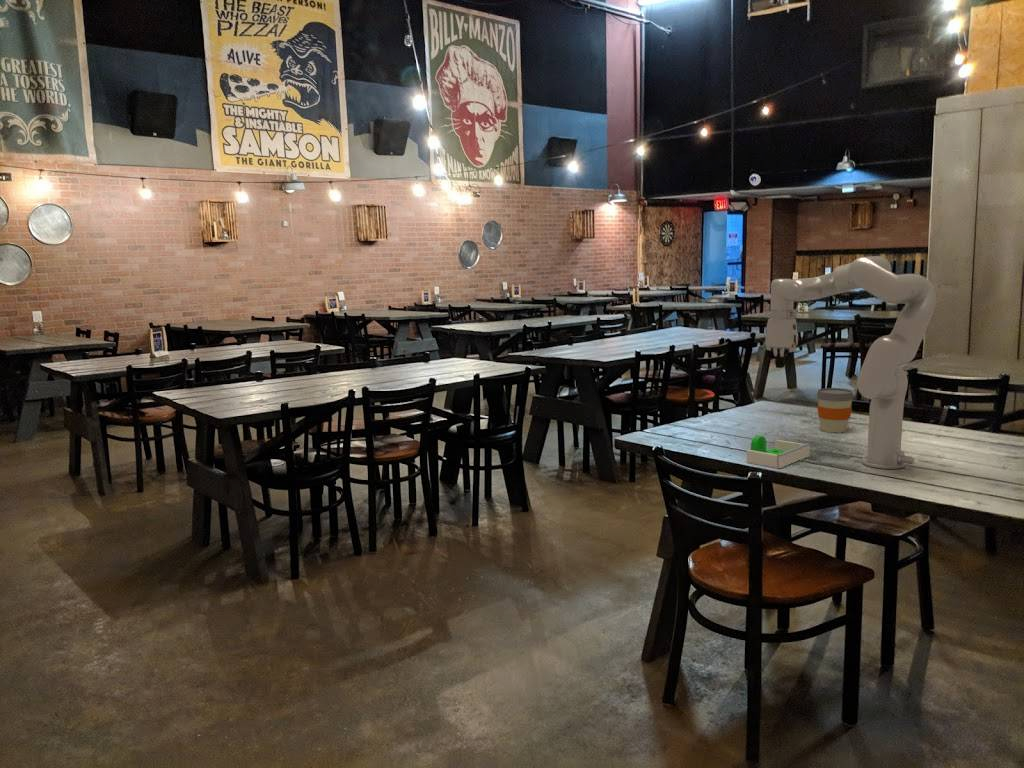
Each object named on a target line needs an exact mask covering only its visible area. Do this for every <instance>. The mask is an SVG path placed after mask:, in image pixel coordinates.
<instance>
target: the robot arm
mask: <svg viewBox="0 0 1024 768" xmlns="http://www.w3.org/2000/svg"><path fill="white" fill-rule="evenodd" d="M857 289H858V290H859V289H862V290H864V291H865V292H867V293H868V294H871V295H872V296H874V297H876V298H878V299H879V300H881V301H882V302H885V303H888V304H891V305H892V304H893V305H897V304H904V306H903V309H902V310H901V312H899V315H898V317H897V319H896V322H895V324H894V326H893V329H892V330H891V332H890V334H888V335H887V334H886V335H883V336H880V337H878V338H877V339H876V340H874V341H873V342H872V344H871V345H870V347H869V349H868V350H867V353H866V356H865V358H864V360H863V364H862V366H861V368H860V371H859V373H858V377H857V380H856V381H857V382H856V386H857V391H858V392H859V393H860V395H861V396H862V397H864V398H865V399H869V400H870V403H869V411H868V412H869V413H868V414H869V415H868V416H869V417H868V434H867V450H866V451H867V453H866V456H863V457H862V458H861V463H862V465H865V466H867V467H871V468H875V469H884V470H885V469H886V470H897V469H903V468H905V467H906V465H907V464H908V465H914V463H915V458H914V457H913V456H909V455H905V451H904V450H902V434H903V419H904V418H903V417H904V406H905V405H904V404H905V399H906V395H907V391H908V384H909V383H908V382H909V381H908V376H907V373H906V371H905V370H904V369H903V368H901V365H905V364H909V363H910V362H912V361H913V359H915V356H916V355H917V352H918V350H919V347H920V346H921V343H922V341H923V338H924V336H925V333H926V331H927V329H928V326H929V324H930V322H931V319H932V318H933V317H932V316H933V315H934V312H935V309H936V306H937V291H936V290H935V289H936V288H935V287H934V285H933V284H932V283H931V281H930V280H929V279H928V278H927V277H925V276H923V275H920V274H916V273H902V274H896V273H894V272H892V265H891V263H890V262H889V260H888V259H887V258H885V257H883V256H879V255H878V256H877V255H876V256H875V255H873V256H861V257H858V258H856V259H854V260H853V261H852V262H850V263H846V264H842V265H838V266H836V267H835V268H834V269H833V271H832V272H829V273H826V274H823V275H819V276H815V277H804V278H794V279H791V278H775V279H773V280H772V281H771V283H770V306H769V307H770V310H769V311H770V313H769V314H770V315H769V316H770V318H768V320H767V323H766V328H765V329H766V330H765V350H767V351H770V352H771V353H772V354H773V356H774V357H775V358H774V365H775V368H777V369H783V368H785V366H786V359H787V358H786V357H787V356H788V354H789V353H793V352H796V351H797V348H796V347H797V346H798V344H799V343H798V341H799V339H798V326H797V319H796V318H794V317H796V316H797V314H798V313H797V311H795V310H794V307H795V306H794V304H795V303H794V302H805V301H814V300H815V301H816V300H819V299H822V298H823V299H824V298H827V297H832V296H835V295H838V294H844V293H848V292H850V291H854V290H857Z"/></svg>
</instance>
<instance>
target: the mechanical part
mask: <svg viewBox="0 0 1024 768" xmlns="http://www.w3.org/2000/svg"><path fill="white" fill-rule="evenodd" d="M750 450H753V451H759V452H764V453H770V454H776V455H778V454H780V453H783V452H784V451H782V450H778V449H774V448H771V449H770V448H769V449H767V440H766V437H765V436H763V435H762V436H761V435H754V437H752V439H751V442H750Z"/></svg>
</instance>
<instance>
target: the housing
mask: <svg viewBox="0 0 1024 768" xmlns="http://www.w3.org/2000/svg"><path fill="white" fill-rule="evenodd" d="M810 445H811V444H810V443H807V442H806V443H801V442H794V441H787V440H783V439H774V448H773V449H778V450H782V451H784V452H783V453H780V454H778V455H776V454H770V453H764V452H759V451H753V450H751V449H747V450H746V464H747V463H749V464H754V465H759V466H763V467H768V468H773V467H775V468H774V469H778V468H781V469H783V468H782V467H784V466H786V465H788V464H791V463H793V462H796V461H798V460H800V461H802V460H801V459H803V460H804V458H805V459H807V458H810V451H811V450H810V449H811V448H810V447H811V446H810ZM806 457H807V458H806ZM798 462H799V461H798ZM796 463H797V462H796ZM793 464H794V463H793ZM791 465H792V464H791ZM788 466H789V465H788ZM786 467H787V466H786ZM784 468H785V467H784Z"/></svg>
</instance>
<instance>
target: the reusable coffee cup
mask: <svg viewBox="0 0 1024 768" xmlns="http://www.w3.org/2000/svg"><path fill="white" fill-rule="evenodd" d="M816 398H817V403H818V404H817V406H816V407H817V416H818V418H819V426H820V430H821V431H822V432H824V431H825V433H830V432H843V433H846V432H847V428H848V424H849V420H850V418H851V414H852V409H853V406H852V402H853V400H854V393H853V390H851V389H846V388H840V387H839V388H838V387H837V388H836V387H827V388H825V387H824V388H820V389H817V394H816ZM845 431H846V432H845Z"/></svg>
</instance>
